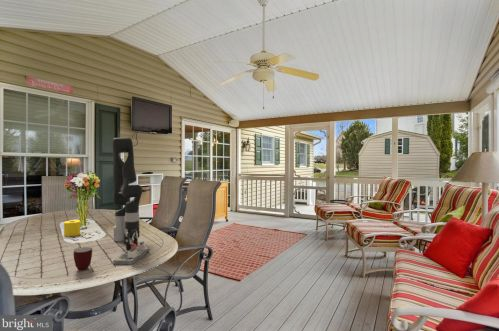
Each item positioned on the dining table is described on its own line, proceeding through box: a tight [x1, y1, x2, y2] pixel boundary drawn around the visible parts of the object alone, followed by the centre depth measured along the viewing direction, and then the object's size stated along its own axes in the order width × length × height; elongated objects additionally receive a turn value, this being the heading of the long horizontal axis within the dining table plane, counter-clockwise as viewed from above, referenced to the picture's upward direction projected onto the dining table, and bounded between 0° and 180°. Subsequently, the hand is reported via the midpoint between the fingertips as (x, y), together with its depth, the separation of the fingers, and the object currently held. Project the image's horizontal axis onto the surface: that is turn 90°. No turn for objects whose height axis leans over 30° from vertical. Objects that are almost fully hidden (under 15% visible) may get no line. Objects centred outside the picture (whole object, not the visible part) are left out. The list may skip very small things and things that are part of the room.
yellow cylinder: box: [63, 219, 81, 237], centre depth 202 cm, size 10×10×9 cm
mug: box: [73, 246, 93, 272], centre depth 140 cm, size 10×8×10 cm
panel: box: [113, 246, 149, 266], centre depth 157 cm, size 10×22×3 cm, turn 178°
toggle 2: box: [136, 240, 147, 251], centre depth 163 cm, size 4×3×4 cm
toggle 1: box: [128, 248, 138, 258], centre depth 151 cm, size 4×3×4 cm
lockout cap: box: [131, 242, 137, 250], centre depth 157 cm, size 4×4×6 cm
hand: (132, 248), depth 157 cm, fingers open, 8 cm apart
